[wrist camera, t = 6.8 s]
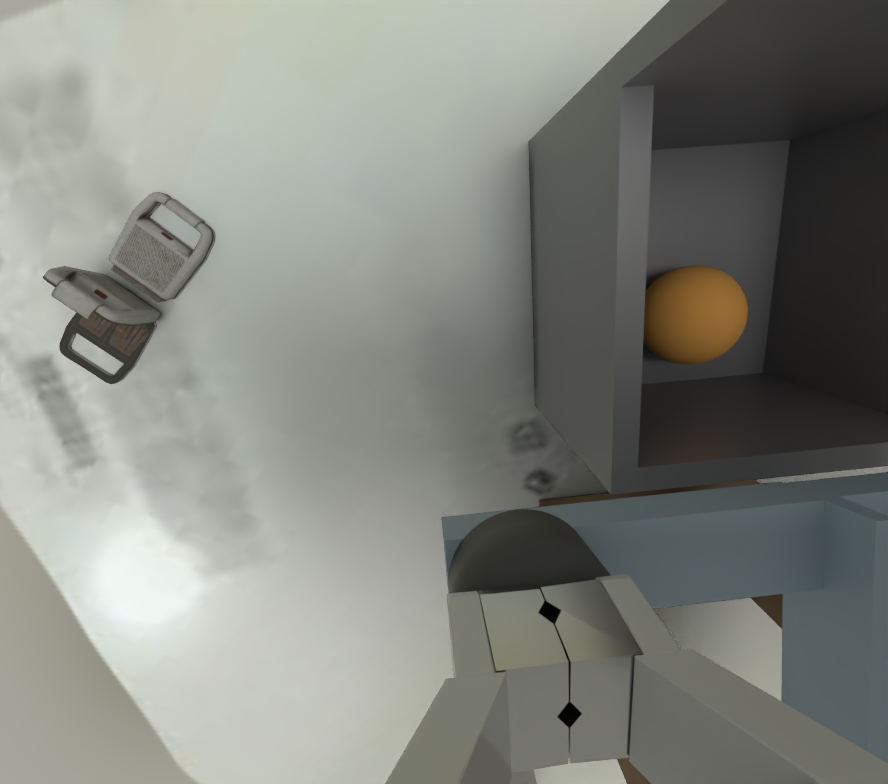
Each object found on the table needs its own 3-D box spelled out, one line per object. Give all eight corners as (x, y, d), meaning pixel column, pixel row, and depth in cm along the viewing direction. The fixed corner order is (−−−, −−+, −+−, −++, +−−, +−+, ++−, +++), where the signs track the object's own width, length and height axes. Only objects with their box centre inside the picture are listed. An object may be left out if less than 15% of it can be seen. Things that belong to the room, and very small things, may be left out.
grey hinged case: (161, 187, 19) (94, 166, 15) (225, 235, 20) (177, 228, 16) (61, 346, 21) (-26, 366, 17) (123, 386, 21) (55, 415, 17)
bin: (795, 122, 20) (2066, -328, 5) (764, 383, 23) (1455, 625, 8) (528, 141, 20) (963, -293, 4) (534, 405, 23) (792, 709, 7)
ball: (718, 370, 21) (699, 287, 22) (784, 342, 17) (758, 242, 18) (630, 379, 21) (614, 295, 21) (676, 352, 17) (655, 250, 18)
